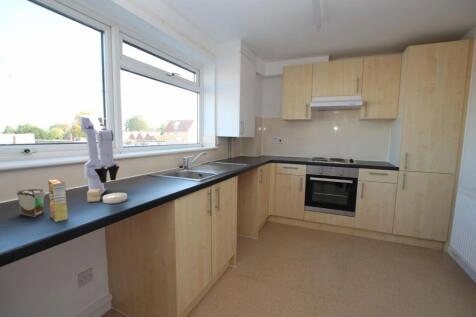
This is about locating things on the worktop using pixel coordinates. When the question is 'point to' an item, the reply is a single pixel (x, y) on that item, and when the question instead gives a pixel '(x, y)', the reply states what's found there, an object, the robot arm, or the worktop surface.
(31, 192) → the food container
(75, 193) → the worktop surface
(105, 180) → the robot arm
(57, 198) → the candy box
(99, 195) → the beech block
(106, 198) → the ceramic plinth
